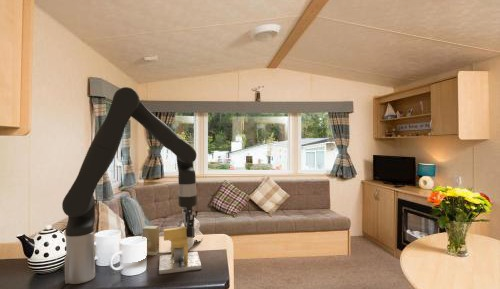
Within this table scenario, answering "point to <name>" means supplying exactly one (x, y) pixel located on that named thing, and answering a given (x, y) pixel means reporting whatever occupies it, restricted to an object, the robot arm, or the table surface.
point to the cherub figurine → (196, 232)
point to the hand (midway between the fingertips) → (188, 235)
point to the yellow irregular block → (177, 236)
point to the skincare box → (152, 239)
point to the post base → (175, 265)
